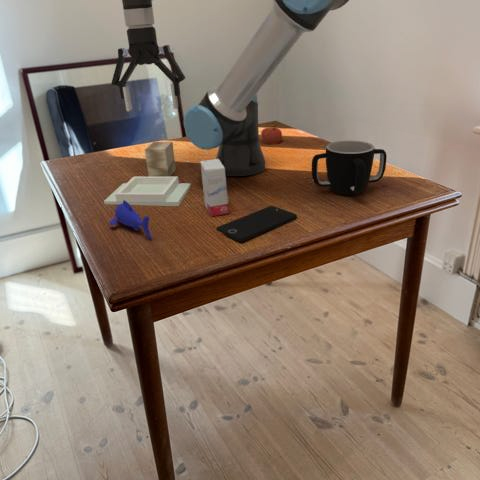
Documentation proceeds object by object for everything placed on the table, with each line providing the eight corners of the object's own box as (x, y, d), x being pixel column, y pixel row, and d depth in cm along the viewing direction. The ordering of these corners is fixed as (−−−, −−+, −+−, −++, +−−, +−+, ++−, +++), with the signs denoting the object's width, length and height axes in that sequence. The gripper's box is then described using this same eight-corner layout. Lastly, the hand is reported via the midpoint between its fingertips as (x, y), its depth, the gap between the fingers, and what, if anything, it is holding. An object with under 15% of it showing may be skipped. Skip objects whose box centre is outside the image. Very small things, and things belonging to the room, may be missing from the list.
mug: (340, 176, 137) (342, 135, 132) (390, 188, 127) (395, 143, 121) (304, 192, 127) (305, 148, 122) (356, 206, 117) (359, 159, 111)
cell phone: (215, 231, 109) (215, 227, 108) (271, 208, 119) (271, 205, 119) (241, 243, 103) (240, 239, 102) (297, 218, 113) (297, 214, 113)
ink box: (229, 214, 116) (226, 167, 111) (209, 217, 115) (205, 170, 110) (222, 202, 124) (219, 157, 119) (203, 204, 123) (199, 160, 118)
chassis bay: (191, 188, 134) (190, 176, 133) (178, 207, 122) (177, 194, 120) (123, 188, 137) (122, 176, 136) (104, 206, 125) (102, 194, 123)
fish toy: (105, 226, 114) (100, 199, 111) (133, 217, 118) (129, 191, 115) (137, 246, 103) (132, 217, 100) (166, 235, 108) (163, 207, 105)
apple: (261, 144, 172) (261, 122, 169) (282, 144, 171) (282, 122, 168) (260, 150, 166) (259, 127, 162) (281, 150, 165) (281, 127, 161)
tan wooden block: (176, 173, 147) (172, 141, 143) (169, 182, 140) (164, 149, 136) (157, 173, 148) (153, 142, 144) (149, 182, 141) (144, 149, 136)
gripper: (189, 23, 127) (198, 104, 136) (100, 29, 130) (114, 108, 139) (183, 24, 120) (193, 109, 129) (89, 31, 124) (105, 113, 133)
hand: (152, 109), depth 134 cm, fingers open, 13 cm apart
